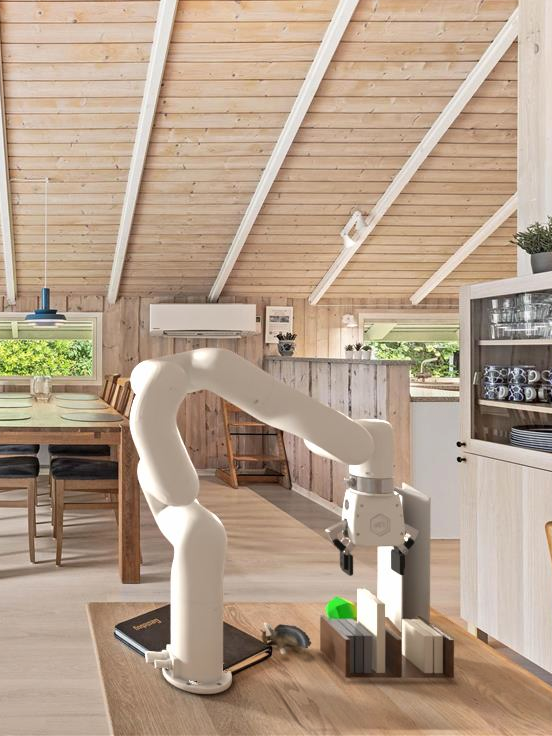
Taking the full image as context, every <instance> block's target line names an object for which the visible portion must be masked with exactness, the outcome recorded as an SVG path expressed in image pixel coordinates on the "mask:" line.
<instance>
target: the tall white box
mask: <svg viewBox="0 0 552 736" xmlns="http://www.w3.org/2000/svg"><path fill="white" fill-rule="evenodd" d="M394 491H395V492H397V493H399V497H400V500H401V505H402V510H403V516H404V523H405V524H407V525H409V526H411V527H413V528H415V529H417V530H418V531H419V533H418V535H417V537H416V539H415V540H414V544H413V546H412V547H411V548H410V549H409V550H408V553H407V554H405V569H404V575H399V574H398V573H396V572H395V571H393V570H392V569H391V549H394V547H393V546H390V547H377V598H378V599H379V600H381V601H382V602H383V603H385V618H388V619H389V620H390V621H391V623H392V624H393V625H394V626H395V627H396V628H397V629H398V631H399V632H400V634H402V619H410V620H412V619H416V616H421V617H422V618H424V619H425V620H426V621H428V622H429V623H431V506H432V505H431V503H432V502H431V497H430V496H428V495H427V494H425V493H423V492H421V491H420V490H418V489H416V488H415V487H412V486H411V485H409V484H408V483H406V482H402V485H401V487H399V486H396V485H394ZM406 533H407V532H406V531H405V537H406Z"/></svg>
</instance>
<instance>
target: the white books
mask: <svg viewBox="0 0 552 736" xmlns="http://www.w3.org/2000/svg"><path fill="white" fill-rule="evenodd" d="M401 640H402V655H404V656H405V657H406V658H407V659H408V660H409V661H411V662H412V663H413V664H414V665H415V666H417V667H418V668H419V669H420V670H421V671H422V672H424V673H433V672H434V673H443V636H442V635H441V634H439V633H438V632H437V631H435V630H434V629H432V628H431V627H430V626H428V625H427V624H425V623H424V622H423V621H421V620H420V619H412V620H410V619H402V633H401Z"/></svg>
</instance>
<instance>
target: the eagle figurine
mask: <svg viewBox="0 0 552 736" xmlns="http://www.w3.org/2000/svg"><path fill="white" fill-rule="evenodd" d="M263 625H264V628H265V629H266V630H263V629H261V628H260V629H259V631H260V632H261V636H260V639H261V641H262V644H263V643H264V644H266V645H269V647H272V646H276V647H277V650H278V651H279V652H280V654H282V655H284V656H285V655H287V651H286V648H289V649H291V650H293V651H294V652H296V653H298V654H299V655H300V654H303V653H304V652H305V651H304V649H308V648H309V647H311V645H312V641H311V639H310V637H309V635H308V634H307V633H306V632H305V631H304V630H303V629H301V628H299V627H297V625H289V624H281V623H280V624H278V625H277V626H275V627H274V629H273V628H272V627H271V626H270V624H269V623H268V622H263ZM267 632H268V633H269V634H270V635H267Z"/></svg>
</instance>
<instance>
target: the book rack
mask: <svg viewBox="0 0 552 736" xmlns="http://www.w3.org/2000/svg"><path fill="white" fill-rule="evenodd" d="M416 619H420V620H421V621H423V622H424V623H425V624H427V625H428V626H430V627H431V628H432V629H434V630H435V631H437V632H438V633H439V634H441V635H442V636H443V673H434V672H433V673H424V672H422V671H421V670H420V669H419V668H418V667H417V666H415V665H414V664H413V663H412V662H411V661H409V660H408V659H407V658H406V657H405V656H404V655H402V638H400V637H399V636H398V635H397V634H395V633H394V632H393V630H390V629H389V628H388V627H387V626H385V673H376V672H375V671H374V670H373V669H372V673H364V672H363V673H355V672H354V673H350V639H349V638H348V637H347V636H346V635H344V634H343V633H342V632H341V631H340V630H339V629H338V628H337V627H336V626H335V625H334V624H333V623H332V622H331V621H330V620H328V617H326V615H324V614H323V615H320V616H319V651H320V652H321V653H322V654H323V656H324V657H326V658H327V660H328V661H329V662H330V663H332V665H333V666H334V667H335V668H336V669H337V671H339V672H340V673H341V674H342V675H343V677H344V678H346V679H347V678H349V679H351V678H352V679H353V678H354V679H356V678H357V679H362V678H363V679H373V678H374V679H454V678H455V640H454V639H453V638H452V637H451V636H449V635H448V634H446V633H445V632H443V631H442V630H441V629H440V628H438V627H437V626H436V625H434V624H432V623H431V622H430V623H429V622H428V621H426V620H425V619H424V618H422V617H421V616H416Z"/></svg>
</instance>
